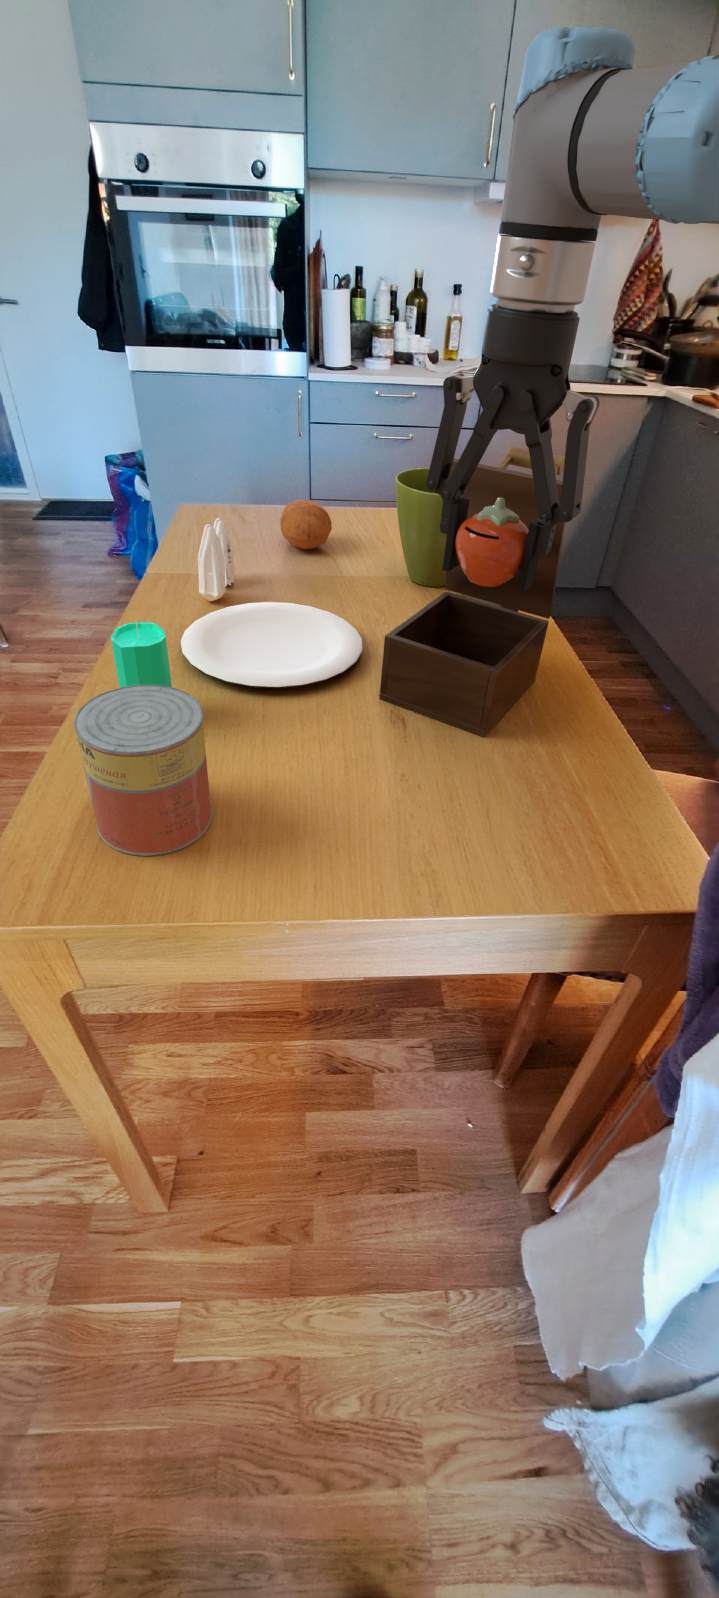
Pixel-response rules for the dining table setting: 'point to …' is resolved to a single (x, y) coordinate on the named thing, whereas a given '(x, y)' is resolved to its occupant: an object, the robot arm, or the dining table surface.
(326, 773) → the dining table surface
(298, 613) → the plate
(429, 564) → the flower pot
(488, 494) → the lid
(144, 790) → the canned food
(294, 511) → the brown coconut
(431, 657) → the dark wooden box
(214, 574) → the shaker set
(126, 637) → the candle
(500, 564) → the tomato
